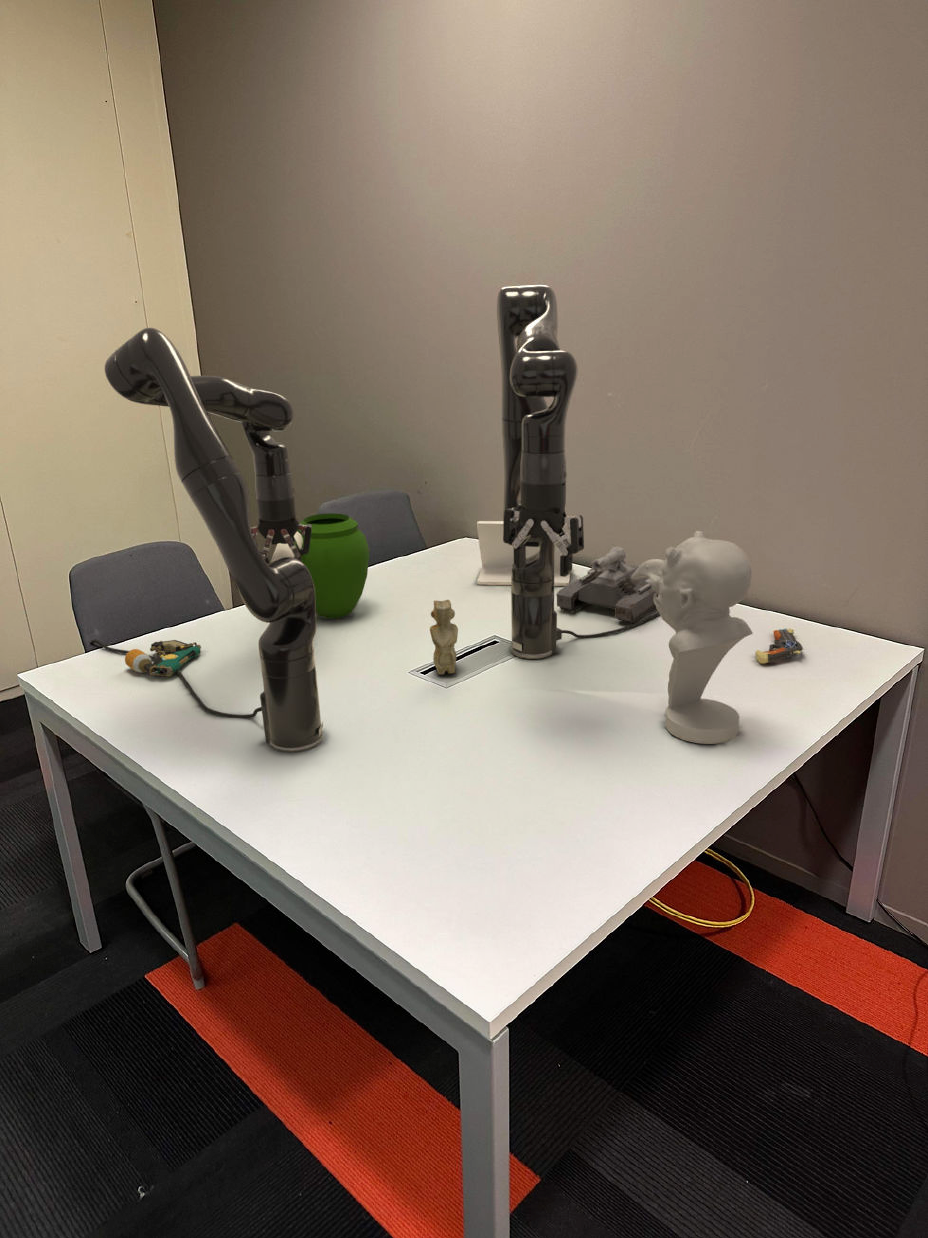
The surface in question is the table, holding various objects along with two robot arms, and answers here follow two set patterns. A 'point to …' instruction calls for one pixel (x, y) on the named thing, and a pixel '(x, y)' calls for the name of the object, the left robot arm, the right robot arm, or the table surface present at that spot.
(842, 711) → the table surface
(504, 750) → the table surface
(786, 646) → the toy gun
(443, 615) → the sculpture
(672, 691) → the bust sculpture
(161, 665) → the spray gun
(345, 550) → the vase
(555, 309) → the right robot arm
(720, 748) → the table surface
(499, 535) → the tablet stand
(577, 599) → the toy
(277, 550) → the rod
